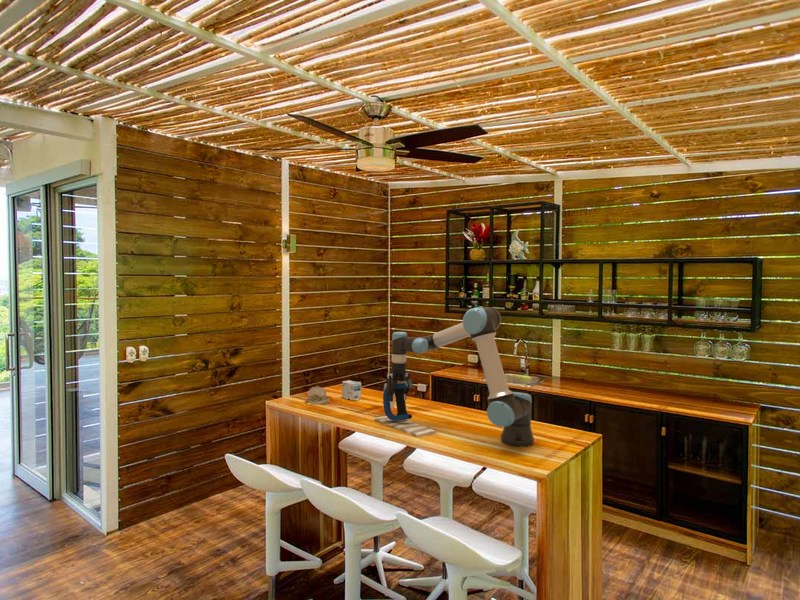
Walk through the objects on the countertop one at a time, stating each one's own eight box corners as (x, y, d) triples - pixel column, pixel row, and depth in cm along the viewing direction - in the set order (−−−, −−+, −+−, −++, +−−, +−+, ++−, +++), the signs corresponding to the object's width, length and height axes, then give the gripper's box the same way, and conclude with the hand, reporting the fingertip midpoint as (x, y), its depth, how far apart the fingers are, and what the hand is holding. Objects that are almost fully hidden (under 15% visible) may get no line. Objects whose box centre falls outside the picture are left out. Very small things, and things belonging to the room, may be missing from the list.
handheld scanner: (412, 418, 268) (408, 379, 273) (384, 421, 274) (380, 383, 279) (416, 418, 272) (412, 379, 277) (388, 421, 278) (385, 383, 283)
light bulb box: (361, 399, 330) (361, 382, 330) (353, 401, 325) (353, 383, 324) (349, 396, 337) (349, 379, 337) (341, 398, 332) (341, 381, 332)
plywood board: (436, 433, 261) (436, 430, 260) (416, 437, 253) (417, 434, 253) (392, 417, 289) (392, 414, 289) (374, 420, 282) (374, 417, 282)
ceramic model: (303, 404, 315) (303, 387, 314) (307, 400, 326) (308, 383, 325) (326, 405, 314) (327, 388, 313) (330, 401, 325) (331, 384, 324)
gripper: (409, 359, 283) (407, 403, 284) (379, 362, 272) (378, 407, 273) (417, 361, 277) (416, 406, 278) (387, 364, 266) (386, 410, 267)
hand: (397, 406), depth 275 cm, fingers open, 6 cm apart
